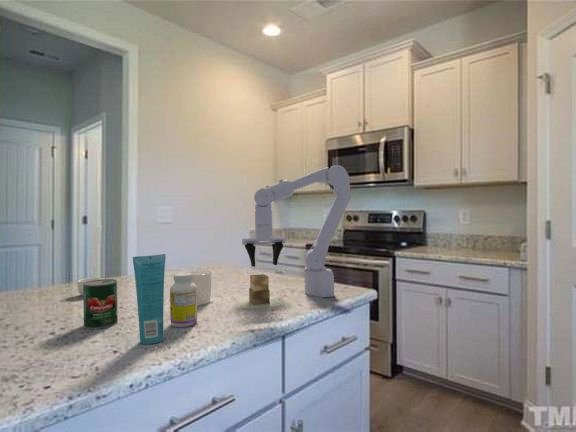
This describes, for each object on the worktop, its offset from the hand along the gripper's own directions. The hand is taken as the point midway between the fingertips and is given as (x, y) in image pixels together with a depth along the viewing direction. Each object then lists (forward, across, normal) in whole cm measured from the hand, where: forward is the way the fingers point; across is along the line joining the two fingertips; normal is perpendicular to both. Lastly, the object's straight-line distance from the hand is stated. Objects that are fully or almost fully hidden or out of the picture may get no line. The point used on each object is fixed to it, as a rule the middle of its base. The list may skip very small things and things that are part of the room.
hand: (264, 265), depth 125 cm
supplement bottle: (+11, +28, +21) cm, 37 cm away
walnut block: (+9, +5, +11) cm, 15 cm away
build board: (+10, +5, +11) cm, 16 cm away
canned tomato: (+11, +48, +13) cm, 51 cm away
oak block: (+5, +5, +11) cm, 13 cm away
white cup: (+11, +22, +3) cm, 25 cm away
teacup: (+11, +55, -27) cm, 62 cm away
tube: (+11, +36, +31) cm, 49 cm away
